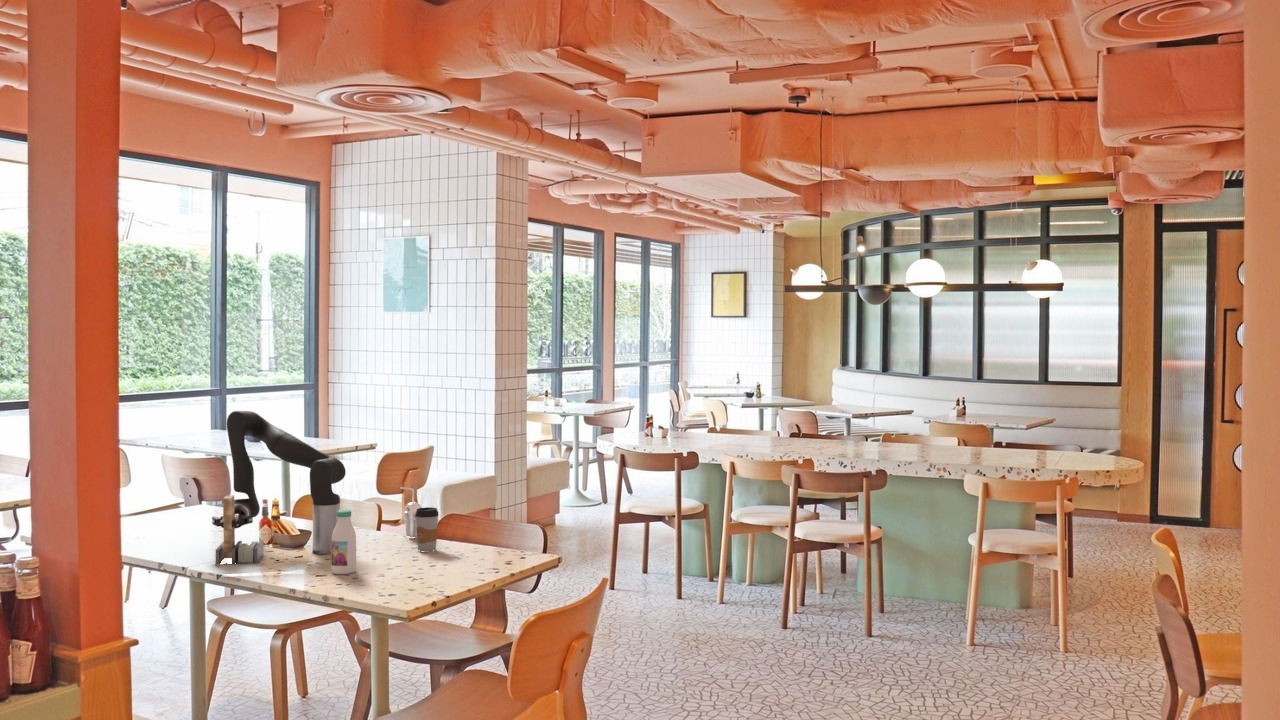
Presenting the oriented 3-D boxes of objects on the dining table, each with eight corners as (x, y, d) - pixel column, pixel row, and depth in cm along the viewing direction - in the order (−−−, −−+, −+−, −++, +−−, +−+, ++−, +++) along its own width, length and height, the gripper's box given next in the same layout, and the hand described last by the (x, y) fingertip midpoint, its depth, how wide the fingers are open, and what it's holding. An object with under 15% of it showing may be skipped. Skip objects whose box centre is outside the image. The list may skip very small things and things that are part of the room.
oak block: (234, 553, 330) (234, 495, 330) (231, 557, 325) (231, 498, 324) (227, 553, 330) (226, 495, 329) (223, 558, 324) (223, 498, 323)
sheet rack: (263, 557, 337) (263, 540, 337) (257, 566, 323) (257, 548, 323) (223, 558, 334) (223, 541, 334) (215, 567, 320) (215, 549, 320)
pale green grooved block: (257, 555, 334) (257, 541, 334) (253, 562, 325) (253, 547, 325) (242, 556, 333) (242, 541, 333) (237, 562, 323) (237, 547, 323)
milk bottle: (347, 568, 321) (347, 508, 320) (360, 572, 316) (361, 510, 315) (326, 572, 315) (326, 511, 314) (340, 576, 310) (340, 513, 310)
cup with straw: (421, 540, 369) (421, 487, 368) (397, 539, 369) (397, 487, 368) (426, 535, 377) (426, 484, 377) (403, 535, 377) (403, 484, 377)
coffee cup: (410, 551, 348) (410, 509, 348) (425, 547, 355) (425, 506, 355) (428, 553, 344) (428, 511, 344) (443, 549, 351) (443, 508, 351)
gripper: (215, 506, 340) (205, 514, 323) (257, 504, 343) (249, 512, 326) (215, 527, 340) (205, 536, 323) (257, 525, 343) (250, 534, 326)
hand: (227, 524), depth 324 cm, fingers closed on oak block, 2 cm apart
